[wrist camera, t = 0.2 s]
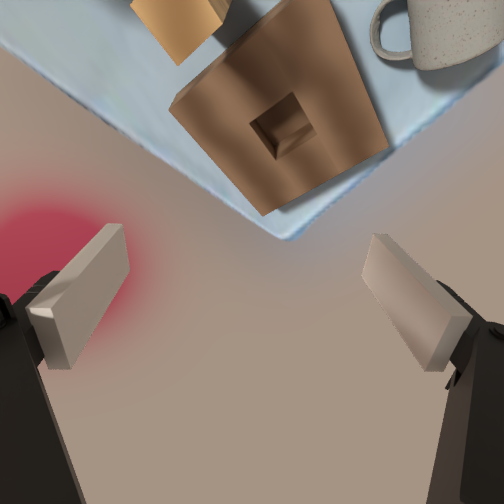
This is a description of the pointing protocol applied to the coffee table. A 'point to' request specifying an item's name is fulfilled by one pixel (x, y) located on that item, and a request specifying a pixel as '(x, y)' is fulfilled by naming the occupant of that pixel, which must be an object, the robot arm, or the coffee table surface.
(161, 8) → the oak peg
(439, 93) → the coffee table surface
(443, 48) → the ceramic mug
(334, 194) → the coffee table surface
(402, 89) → the coffee table surface
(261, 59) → the walnut socket block
